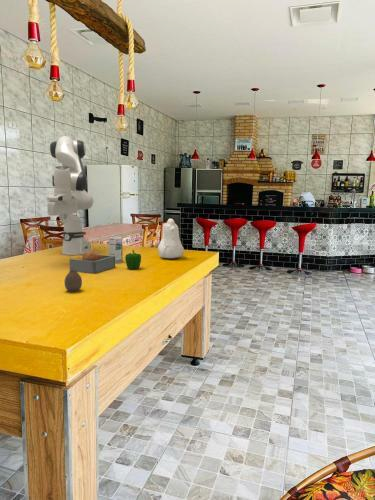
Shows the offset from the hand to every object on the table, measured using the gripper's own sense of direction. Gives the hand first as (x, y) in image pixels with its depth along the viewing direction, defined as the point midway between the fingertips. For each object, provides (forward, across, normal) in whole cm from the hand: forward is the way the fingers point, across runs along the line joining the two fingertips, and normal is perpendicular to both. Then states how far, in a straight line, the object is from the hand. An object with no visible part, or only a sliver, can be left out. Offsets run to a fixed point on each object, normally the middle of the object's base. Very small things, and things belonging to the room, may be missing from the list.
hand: (63, 222), depth 210 cm
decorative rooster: (+24, -48, +42) cm, 68 cm away
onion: (+23, +4, +21) cm, 31 cm away
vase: (+21, +44, +41) cm, 64 cm away
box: (+22, +4, +21) cm, 31 cm away
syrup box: (+23, -18, +22) cm, 36 cm away
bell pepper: (+22, -7, +40) cm, 46 cm away
